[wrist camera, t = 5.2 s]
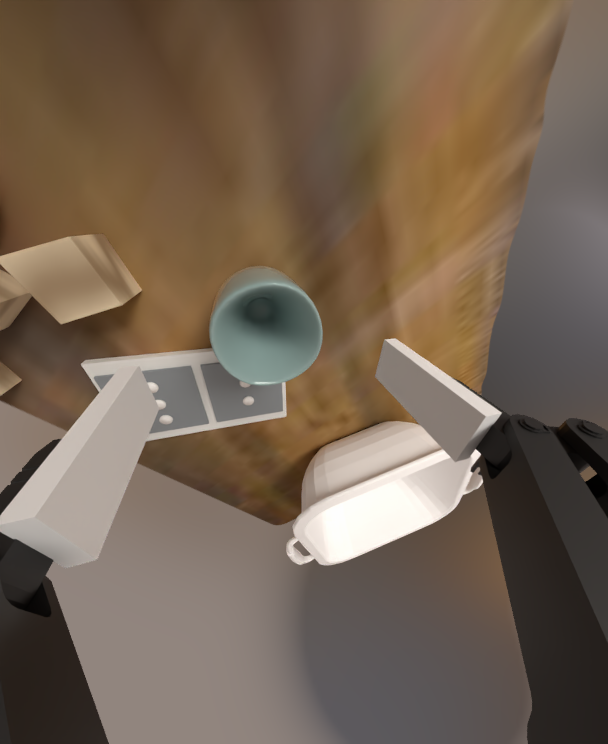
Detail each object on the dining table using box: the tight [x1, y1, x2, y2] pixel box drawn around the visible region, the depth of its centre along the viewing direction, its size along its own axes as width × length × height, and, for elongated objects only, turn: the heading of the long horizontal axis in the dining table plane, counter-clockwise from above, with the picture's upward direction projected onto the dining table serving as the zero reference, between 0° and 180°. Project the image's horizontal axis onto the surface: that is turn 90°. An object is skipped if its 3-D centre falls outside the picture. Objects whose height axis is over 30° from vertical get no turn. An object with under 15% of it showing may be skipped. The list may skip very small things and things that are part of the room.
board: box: [81, 348, 286, 441], centre depth 27 cm, size 12×20×1 cm, turn 89°
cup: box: [209, 266, 323, 386], centre depth 19 cm, size 8×8×10 cm
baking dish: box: [286, 421, 483, 565], centre depth 40 cm, size 34×28×13 cm
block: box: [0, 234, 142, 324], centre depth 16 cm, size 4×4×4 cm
